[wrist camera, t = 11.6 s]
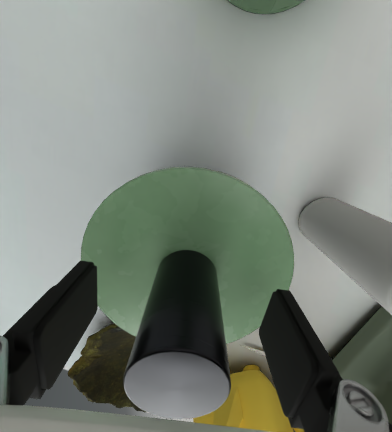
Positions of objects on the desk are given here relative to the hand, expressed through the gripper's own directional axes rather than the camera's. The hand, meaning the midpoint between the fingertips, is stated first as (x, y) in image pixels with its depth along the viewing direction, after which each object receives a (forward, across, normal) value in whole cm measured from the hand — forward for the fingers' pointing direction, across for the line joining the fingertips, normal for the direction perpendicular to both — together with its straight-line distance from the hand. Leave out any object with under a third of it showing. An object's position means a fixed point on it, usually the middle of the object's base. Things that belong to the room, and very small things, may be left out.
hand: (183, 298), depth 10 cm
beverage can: (+12, -14, -2) cm, 18 cm away
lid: (+3, 0, 0) cm, 3 cm away
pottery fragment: (+10, +7, +14) cm, 19 cm away
